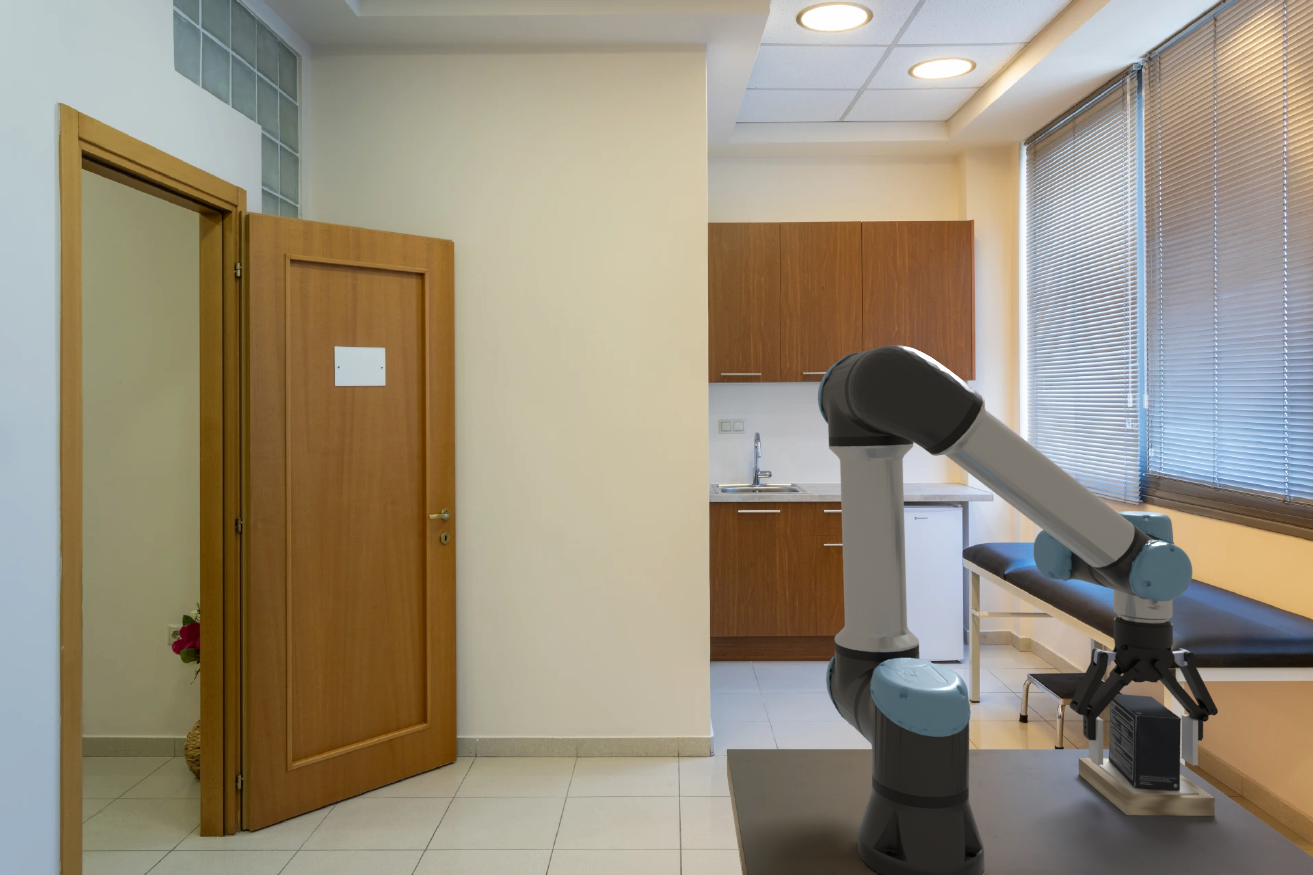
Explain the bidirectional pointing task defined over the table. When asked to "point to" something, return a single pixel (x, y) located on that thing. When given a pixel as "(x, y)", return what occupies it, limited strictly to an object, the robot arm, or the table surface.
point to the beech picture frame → (1146, 793)
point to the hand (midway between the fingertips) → (1142, 761)
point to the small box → (1145, 742)
